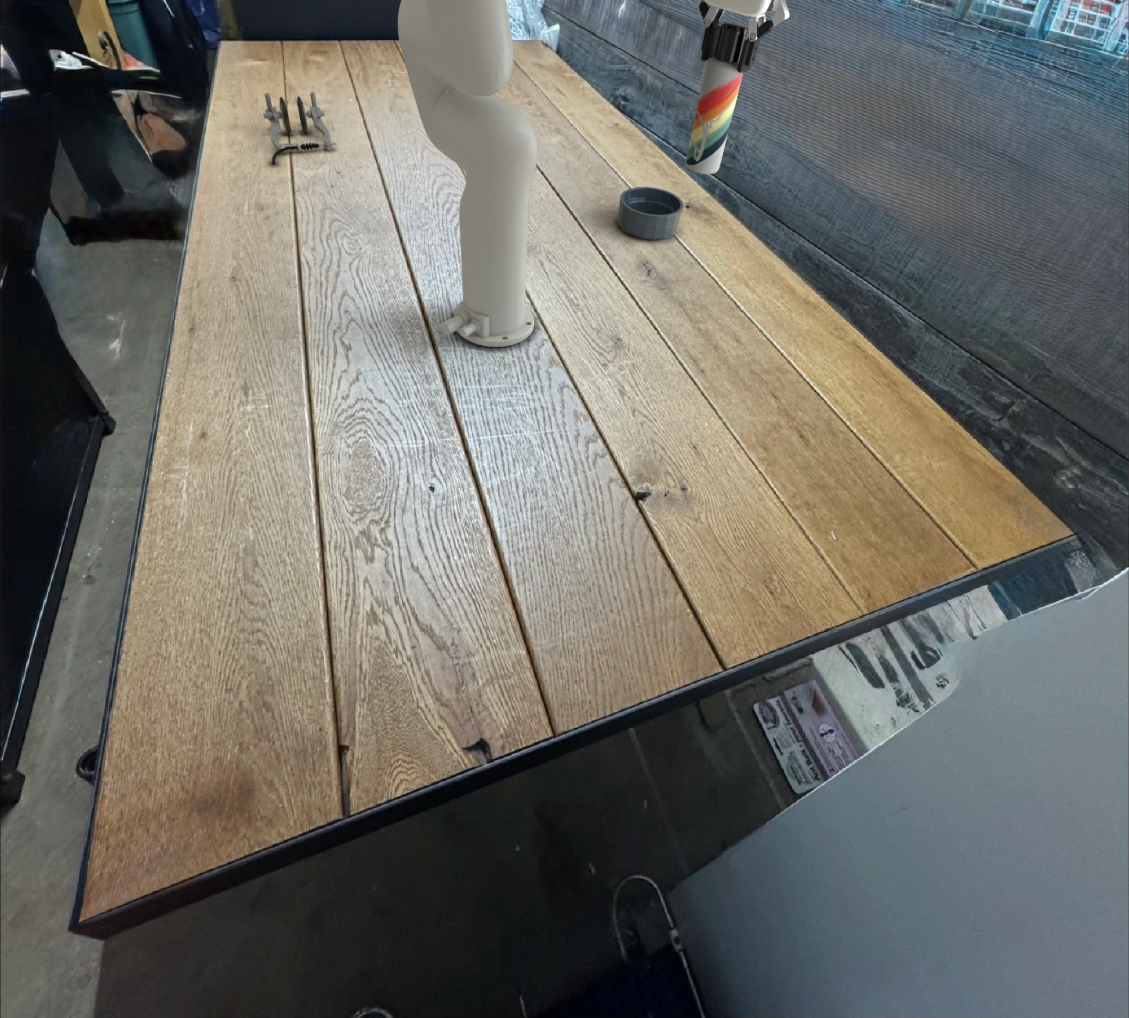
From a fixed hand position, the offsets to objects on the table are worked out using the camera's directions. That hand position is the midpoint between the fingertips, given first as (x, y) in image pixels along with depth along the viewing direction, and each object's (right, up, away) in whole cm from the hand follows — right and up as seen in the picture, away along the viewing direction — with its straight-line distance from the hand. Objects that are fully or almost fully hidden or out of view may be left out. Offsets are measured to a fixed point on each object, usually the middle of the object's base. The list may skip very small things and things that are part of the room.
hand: (725, 63), depth 98 cm
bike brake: (-81, +12, +43) cm, 93 cm away
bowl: (-8, -11, +31) cm, 34 cm away
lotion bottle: (-1, -10, +12) cm, 15 cm away
